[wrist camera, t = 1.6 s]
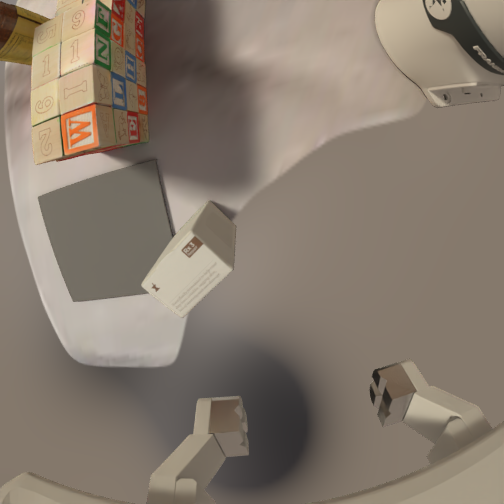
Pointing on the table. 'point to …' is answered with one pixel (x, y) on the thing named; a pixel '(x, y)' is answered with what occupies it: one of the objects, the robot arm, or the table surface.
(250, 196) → the table surface
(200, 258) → the skincare box
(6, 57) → the sauce bottle
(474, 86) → the robot arm
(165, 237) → the placemat
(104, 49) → the stack of blocks
